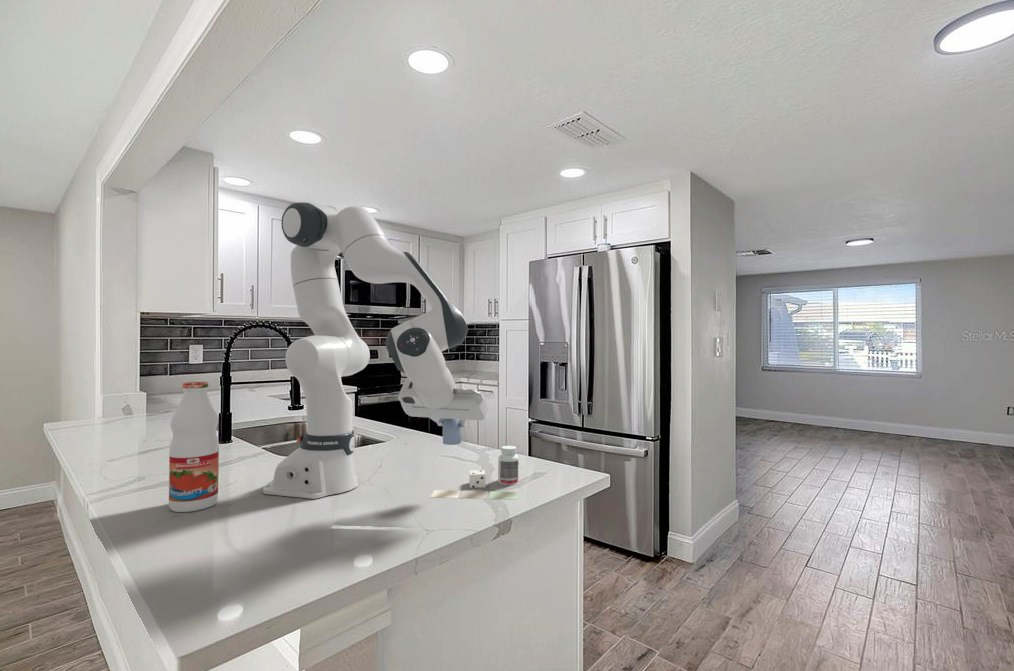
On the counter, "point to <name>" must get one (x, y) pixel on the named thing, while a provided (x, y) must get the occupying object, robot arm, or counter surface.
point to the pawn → (451, 431)
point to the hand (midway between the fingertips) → (453, 424)
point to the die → (477, 478)
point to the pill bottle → (508, 466)
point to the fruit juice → (194, 451)
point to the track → (473, 494)
